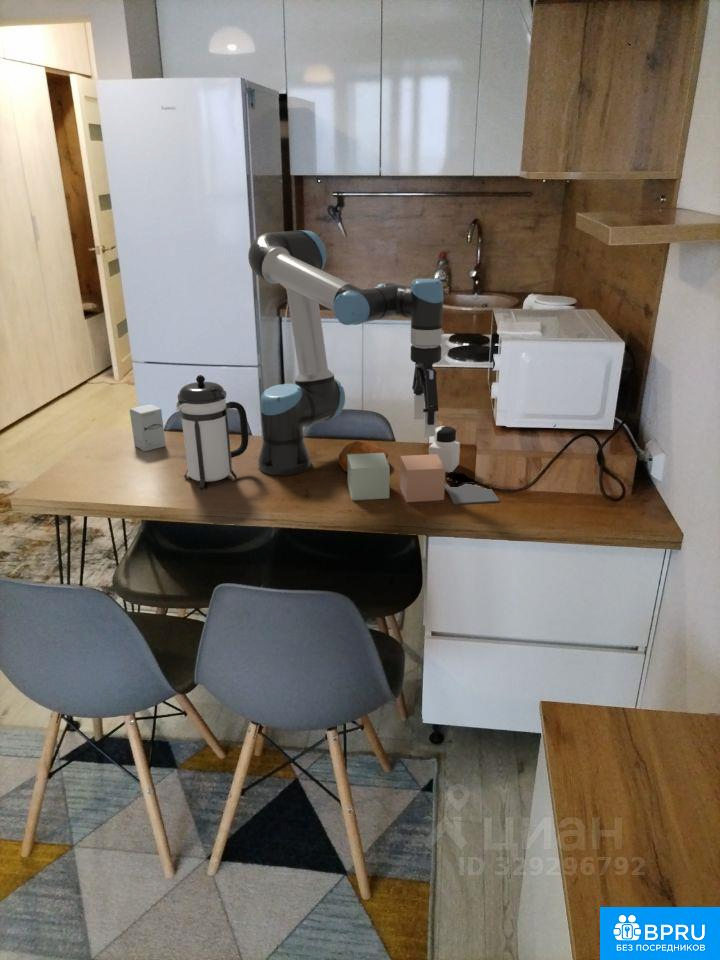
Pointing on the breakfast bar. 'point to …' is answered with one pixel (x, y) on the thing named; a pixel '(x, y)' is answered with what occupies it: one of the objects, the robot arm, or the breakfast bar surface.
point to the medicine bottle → (446, 447)
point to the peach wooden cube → (422, 478)
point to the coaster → (470, 494)
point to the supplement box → (147, 427)
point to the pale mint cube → (368, 476)
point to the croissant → (358, 451)
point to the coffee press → (208, 431)
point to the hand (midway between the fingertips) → (423, 427)
